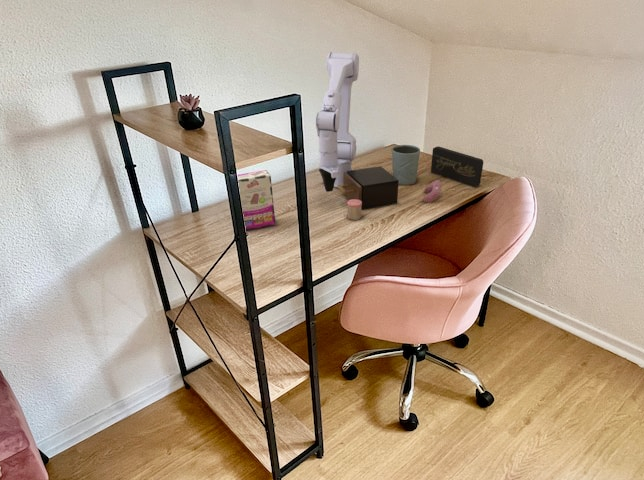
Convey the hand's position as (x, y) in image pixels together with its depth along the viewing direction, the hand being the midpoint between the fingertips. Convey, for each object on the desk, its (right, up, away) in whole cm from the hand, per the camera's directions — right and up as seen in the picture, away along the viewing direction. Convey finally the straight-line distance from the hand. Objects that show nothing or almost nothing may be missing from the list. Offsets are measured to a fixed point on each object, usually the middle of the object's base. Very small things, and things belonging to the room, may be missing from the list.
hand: (329, 190), depth 161 cm
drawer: (+11, -2, +6) cm, 13 cm away
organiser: (+14, -2, +7) cm, 16 cm away
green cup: (+27, +7, +21) cm, 35 cm away
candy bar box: (-22, -12, -9) cm, 27 cm away
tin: (+8, -9, -4) cm, 13 cm away
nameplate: (+46, +8, +23) cm, 52 cm away
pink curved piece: (+35, -1, +8) cm, 36 cm away
